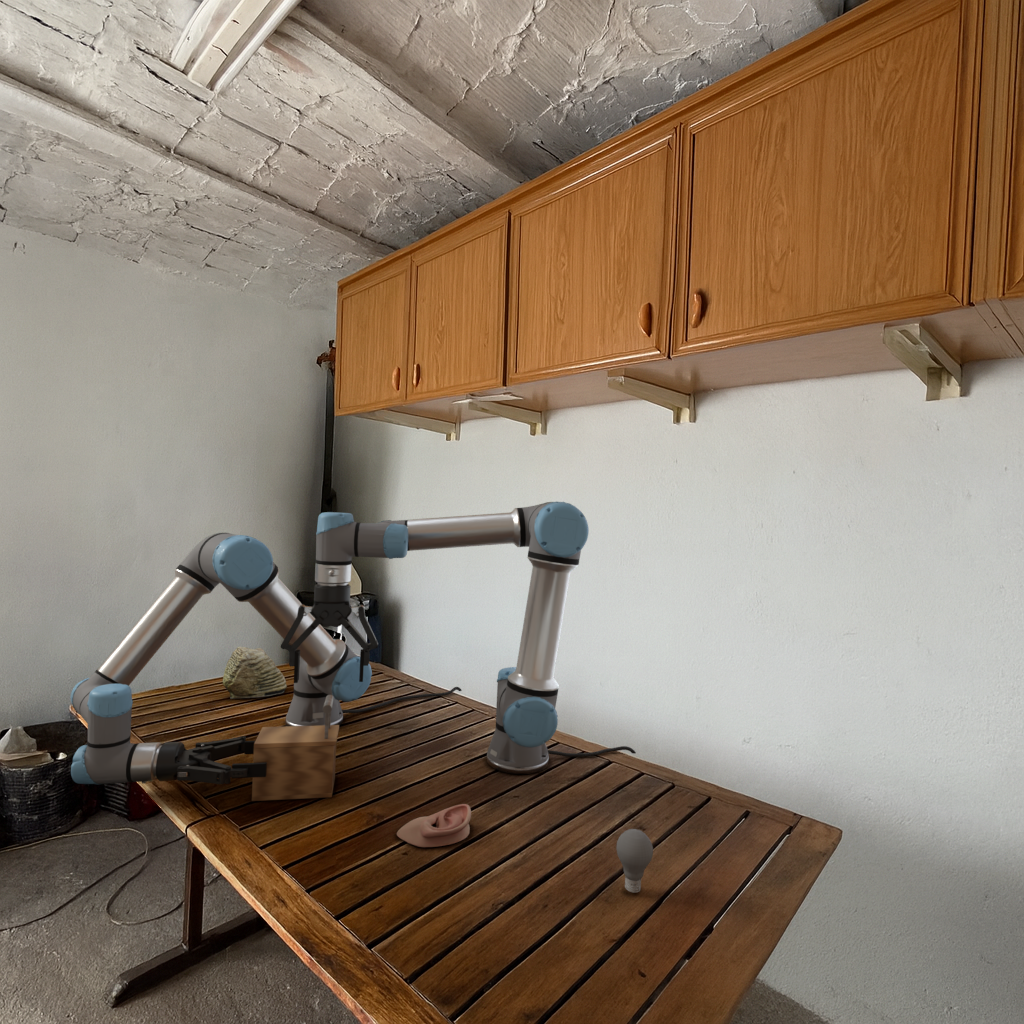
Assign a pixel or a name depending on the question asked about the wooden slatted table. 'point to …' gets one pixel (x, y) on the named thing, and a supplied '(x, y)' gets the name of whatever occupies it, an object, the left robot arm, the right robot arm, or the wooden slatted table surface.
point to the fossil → (252, 674)
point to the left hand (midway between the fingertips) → (271, 757)
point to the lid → (301, 733)
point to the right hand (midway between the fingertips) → (329, 680)
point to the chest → (295, 773)
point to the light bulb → (634, 857)
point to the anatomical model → (438, 827)
